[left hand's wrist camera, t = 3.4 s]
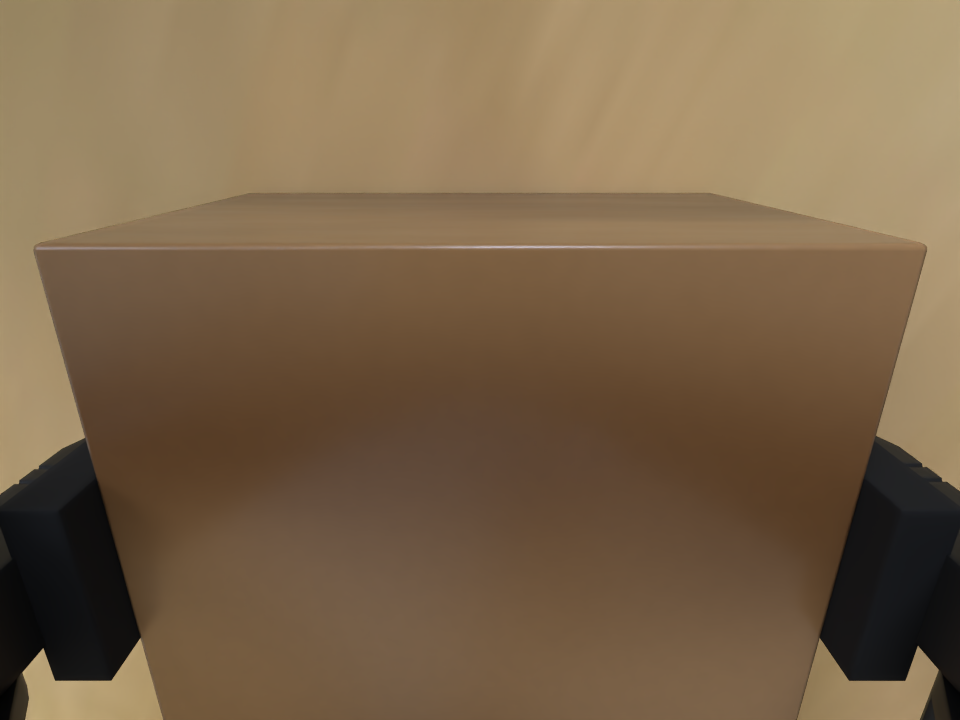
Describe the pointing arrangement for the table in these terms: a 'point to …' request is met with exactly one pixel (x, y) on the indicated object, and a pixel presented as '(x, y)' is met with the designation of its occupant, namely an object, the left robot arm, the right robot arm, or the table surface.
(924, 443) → the table surface
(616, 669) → the thick board
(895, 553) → the left robot arm
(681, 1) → the table surface
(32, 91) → the table surface
